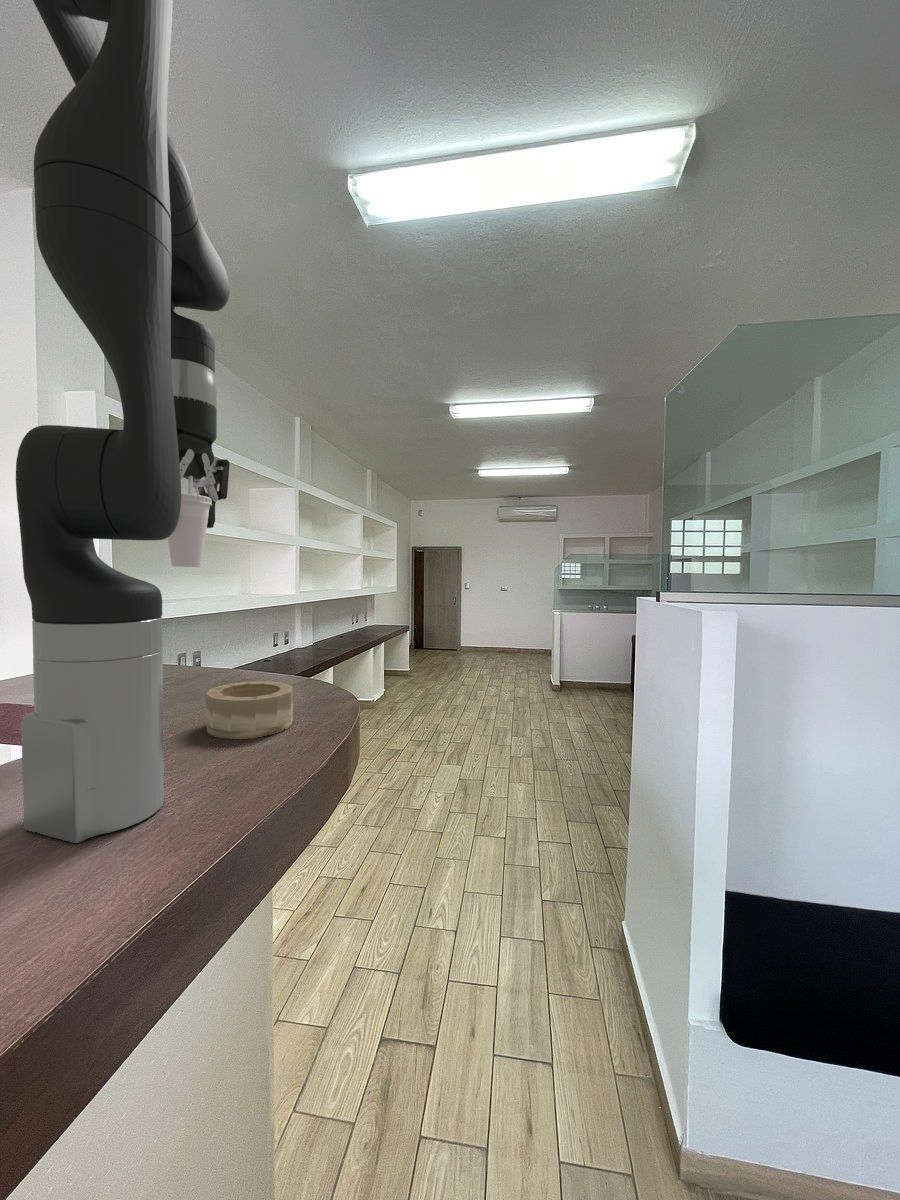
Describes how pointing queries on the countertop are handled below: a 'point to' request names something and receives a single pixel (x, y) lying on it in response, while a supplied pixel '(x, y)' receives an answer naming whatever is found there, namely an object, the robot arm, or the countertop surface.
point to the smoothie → (190, 530)
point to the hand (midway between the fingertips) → (186, 525)
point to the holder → (249, 709)
